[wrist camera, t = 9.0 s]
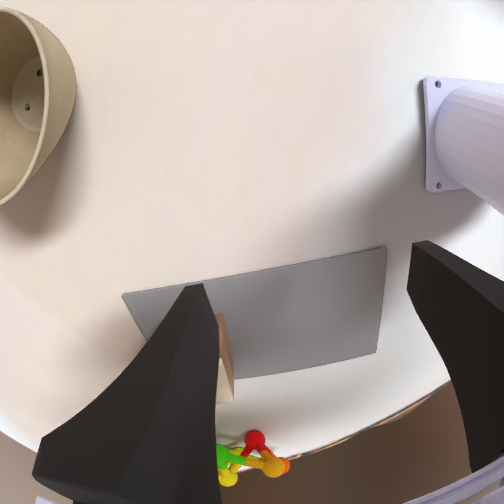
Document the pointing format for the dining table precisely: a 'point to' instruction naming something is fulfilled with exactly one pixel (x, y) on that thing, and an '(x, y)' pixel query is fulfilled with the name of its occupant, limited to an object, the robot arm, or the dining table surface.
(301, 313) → the mat
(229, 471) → the decorative model
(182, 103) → the dining table surface
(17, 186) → the flower pot
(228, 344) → the walnut cube
